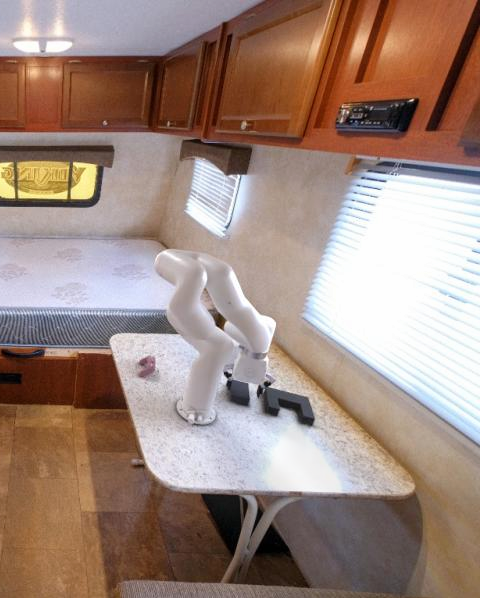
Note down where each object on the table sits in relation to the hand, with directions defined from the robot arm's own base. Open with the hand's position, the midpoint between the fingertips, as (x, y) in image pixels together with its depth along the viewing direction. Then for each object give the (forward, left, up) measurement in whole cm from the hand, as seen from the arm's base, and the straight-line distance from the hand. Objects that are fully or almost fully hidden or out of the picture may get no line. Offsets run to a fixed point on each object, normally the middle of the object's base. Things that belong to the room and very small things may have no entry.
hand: (243, 391), depth 128 cm
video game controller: (+2, +35, -4) cm, 35 cm away
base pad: (+2, -15, -4) cm, 16 cm away
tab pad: (+2, +1, -4) cm, 4 cm away
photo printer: (+22, +3, -4) cm, 23 cm away
